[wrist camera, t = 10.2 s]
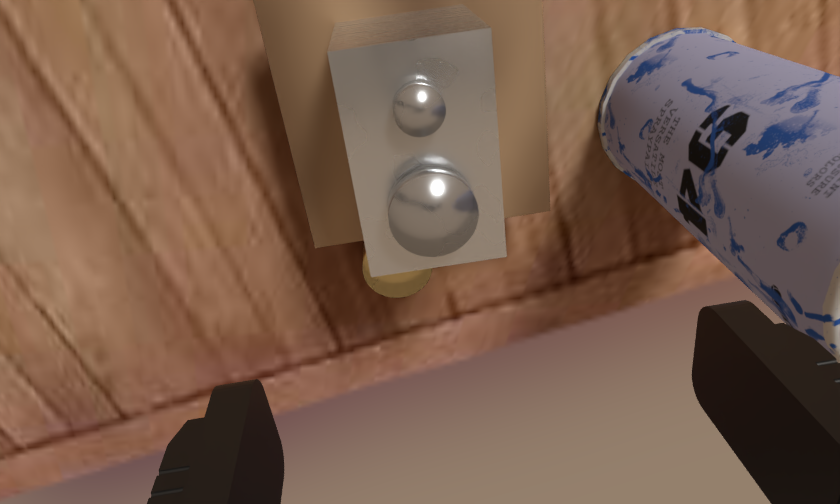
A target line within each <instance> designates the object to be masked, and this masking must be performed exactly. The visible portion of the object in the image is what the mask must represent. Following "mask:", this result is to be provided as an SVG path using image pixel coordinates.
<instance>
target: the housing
mask: <svg viewBox="0 0 840 504" xmlns="http://www.w3.org/2000/svg"><path fill="white" fill-rule="evenodd" d="M327 54H328V59H329V64H330V69H331V74H332V79H333V85H334V90H335V95H336V100H337V105H338V110H339V115H340V121H341V126H342V131H343V136H344V141H345V146H346V151H347V156H348V162H349V167H350V172H351V177H352V182H353V187H354V192H355V198H356V203H357V208H358V213H359V218H360V223H361V228H362V233H363V239H364V244H365V249H366V254H367V259H368V264H369V269H370V275H371V277H377V276H383V275H390V274H396V273H403V272H410V271H416V270H423V269H429V268H436V267H442V266H449V265H456V264H462V263H469V262H475V261H482V260H488V259H495V258H502V257H507V254H506V239H505V224H504V209H503V195H502V180H501V165H500V150H499V135H498V121H497V106H496V91H495V76H494V62H493V47H492V32H491V27H490V26H489V25H487V24H486V23H485V22H484V21H483V20H481V19H480V18H479V17H478V16H477V15H475V14H474V13H473V12H472V11H471V10H469V9H468V8H467V7H466V6H464V5H463V4H460V5H454V6H447V7H440V8H433V9H427V10H420V11H413V12H406V13H400V14H393V15H386V16H379V17H372V18H366V19H359V20H352V21H345V22H339V23H335V26H334V29H333V33H332V36H331V40H330V43H329V47H328V51H327Z"/></svg>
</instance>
